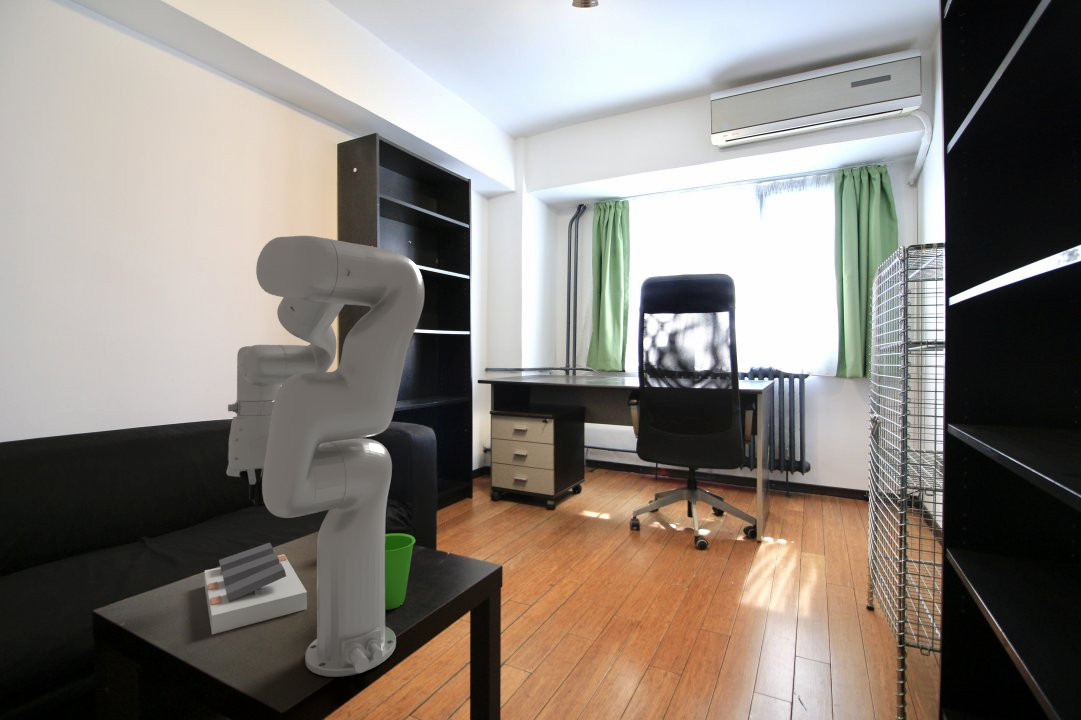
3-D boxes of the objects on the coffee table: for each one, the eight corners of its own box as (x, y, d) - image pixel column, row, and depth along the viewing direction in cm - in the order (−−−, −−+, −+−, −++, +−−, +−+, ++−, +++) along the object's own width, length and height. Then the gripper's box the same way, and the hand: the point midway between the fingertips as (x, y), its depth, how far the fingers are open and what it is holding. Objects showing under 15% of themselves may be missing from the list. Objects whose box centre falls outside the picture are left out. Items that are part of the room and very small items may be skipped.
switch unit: (306, 609, 89) (306, 587, 89) (211, 634, 81) (211, 611, 81) (284, 568, 107) (284, 550, 107) (204, 586, 98) (204, 566, 98)
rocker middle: (279, 565, 96) (278, 558, 96) (224, 585, 91) (223, 578, 91) (276, 559, 99) (275, 552, 99) (223, 579, 94) (221, 571, 93)
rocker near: (286, 576, 90) (284, 569, 90) (228, 602, 85) (226, 594, 85) (282, 569, 93) (280, 562, 93) (227, 594, 88) (224, 586, 88)
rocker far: (273, 554, 102) (272, 547, 101) (221, 572, 96) (220, 565, 96) (271, 548, 104) (269, 542, 104) (220, 566, 99) (218, 560, 99)
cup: (426, 599, 92) (426, 538, 92) (387, 620, 85) (386, 554, 85) (392, 587, 97) (392, 530, 97) (352, 607, 89) (352, 544, 90)
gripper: (215, 413, 91) (215, 514, 92) (304, 408, 101) (303, 500, 101) (211, 409, 97) (211, 504, 98) (296, 405, 107) (295, 492, 107)
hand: (258, 502), depth 99 cm, fingers closed
